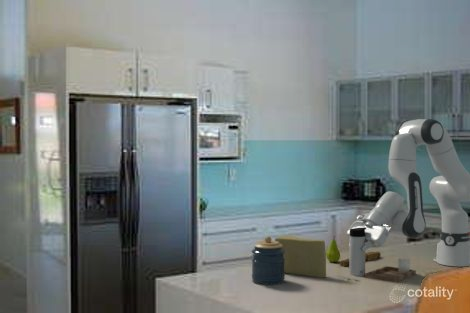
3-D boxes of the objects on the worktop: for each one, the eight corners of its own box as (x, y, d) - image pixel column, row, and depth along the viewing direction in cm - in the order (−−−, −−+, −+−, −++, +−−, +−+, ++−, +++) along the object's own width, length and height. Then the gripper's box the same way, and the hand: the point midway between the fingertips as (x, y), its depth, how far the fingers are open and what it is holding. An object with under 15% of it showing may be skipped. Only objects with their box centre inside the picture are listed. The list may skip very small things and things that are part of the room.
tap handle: (339, 259, 266) (376, 250, 287) (339, 266, 266) (376, 256, 287) (345, 260, 264) (382, 251, 285) (345, 267, 264) (382, 257, 285)
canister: (288, 278, 242) (288, 234, 242) (280, 286, 230) (279, 239, 229) (257, 276, 246) (257, 233, 246) (247, 283, 234) (247, 238, 234)
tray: (385, 272, 253) (385, 265, 253) (415, 276, 244) (415, 270, 244) (365, 280, 239) (365, 273, 239) (396, 285, 231) (396, 278, 231)
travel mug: (366, 279, 241) (366, 229, 240) (349, 278, 242) (349, 228, 241) (365, 275, 247) (366, 226, 246) (349, 274, 248) (349, 226, 247)
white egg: (401, 272, 247) (401, 257, 247) (411, 274, 244) (411, 259, 244) (396, 274, 244) (396, 259, 244) (406, 275, 241) (406, 260, 241)
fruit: (323, 262, 274) (323, 235, 274) (331, 260, 279) (331, 234, 279) (335, 264, 270) (335, 237, 270) (343, 261, 275) (343, 235, 274)
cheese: (331, 276, 247) (332, 239, 247) (318, 280, 240) (318, 242, 239) (287, 268, 261) (287, 233, 261) (273, 272, 254) (273, 236, 254)
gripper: (397, 231, 240) (377, 258, 236) (363, 225, 258) (345, 249, 254) (388, 221, 238) (368, 248, 233) (355, 215, 256) (336, 240, 252)
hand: (356, 248), depth 244 cm, fingers closed on travel mug, 6 cm apart
